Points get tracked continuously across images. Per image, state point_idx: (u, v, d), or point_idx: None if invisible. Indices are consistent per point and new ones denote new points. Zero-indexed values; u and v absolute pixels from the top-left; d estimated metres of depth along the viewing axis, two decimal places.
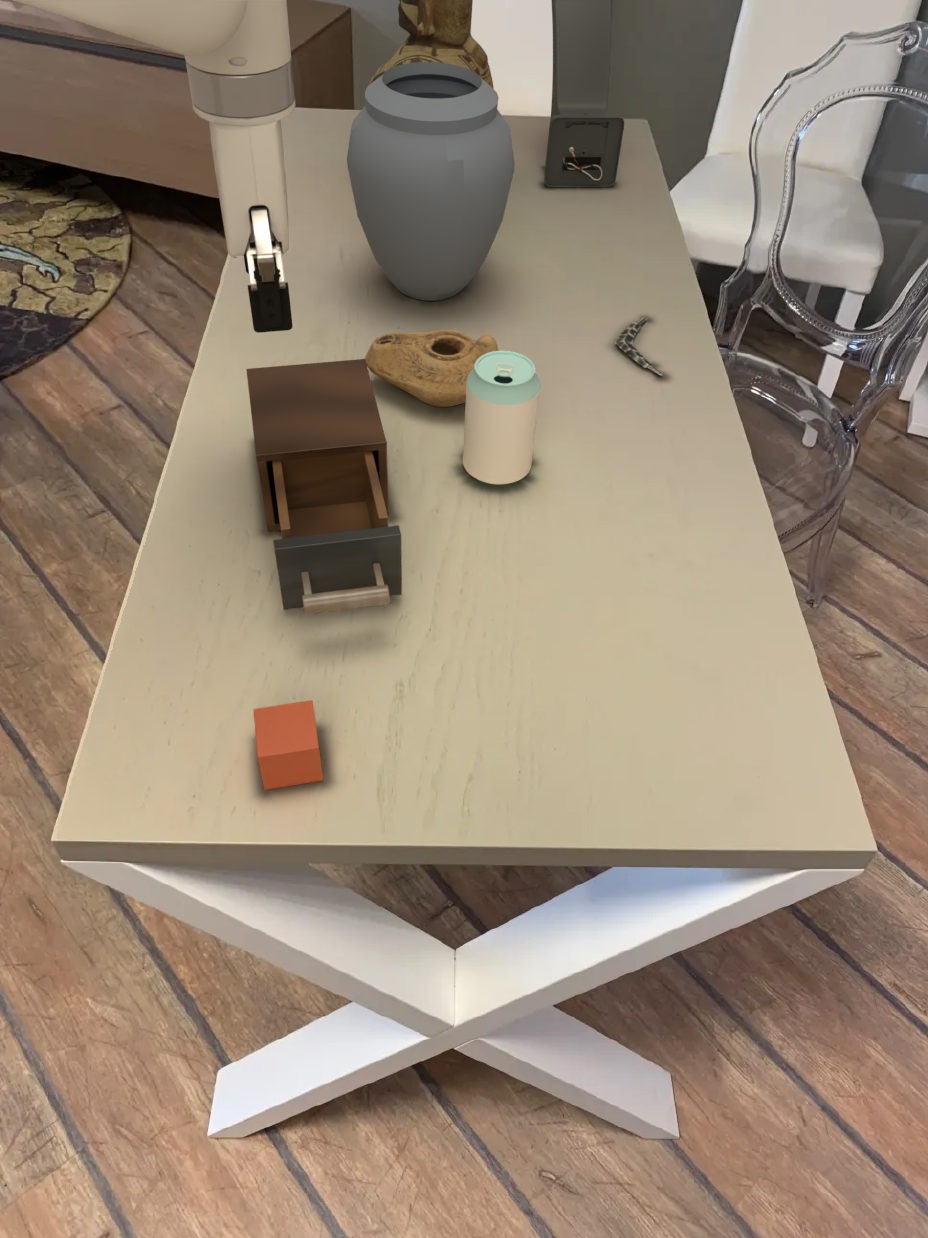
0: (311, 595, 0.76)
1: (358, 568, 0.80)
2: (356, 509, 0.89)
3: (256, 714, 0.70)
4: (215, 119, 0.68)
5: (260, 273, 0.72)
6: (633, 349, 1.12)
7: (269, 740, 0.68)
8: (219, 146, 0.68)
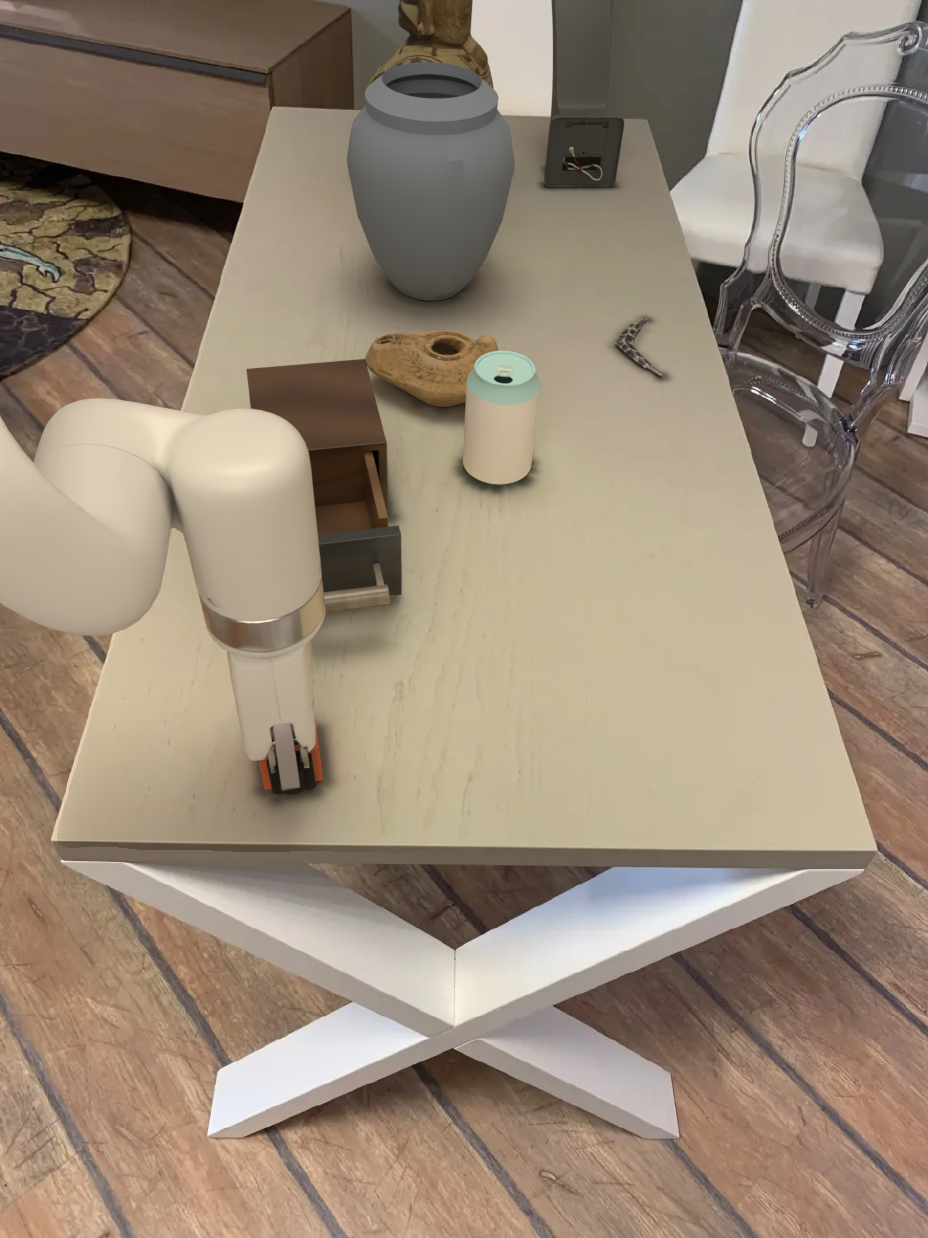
0: None
1: (358, 568, 0.80)
2: (356, 509, 0.89)
3: None
4: (232, 650, 0.57)
5: None
6: (633, 349, 1.12)
7: None
8: (236, 680, 0.58)
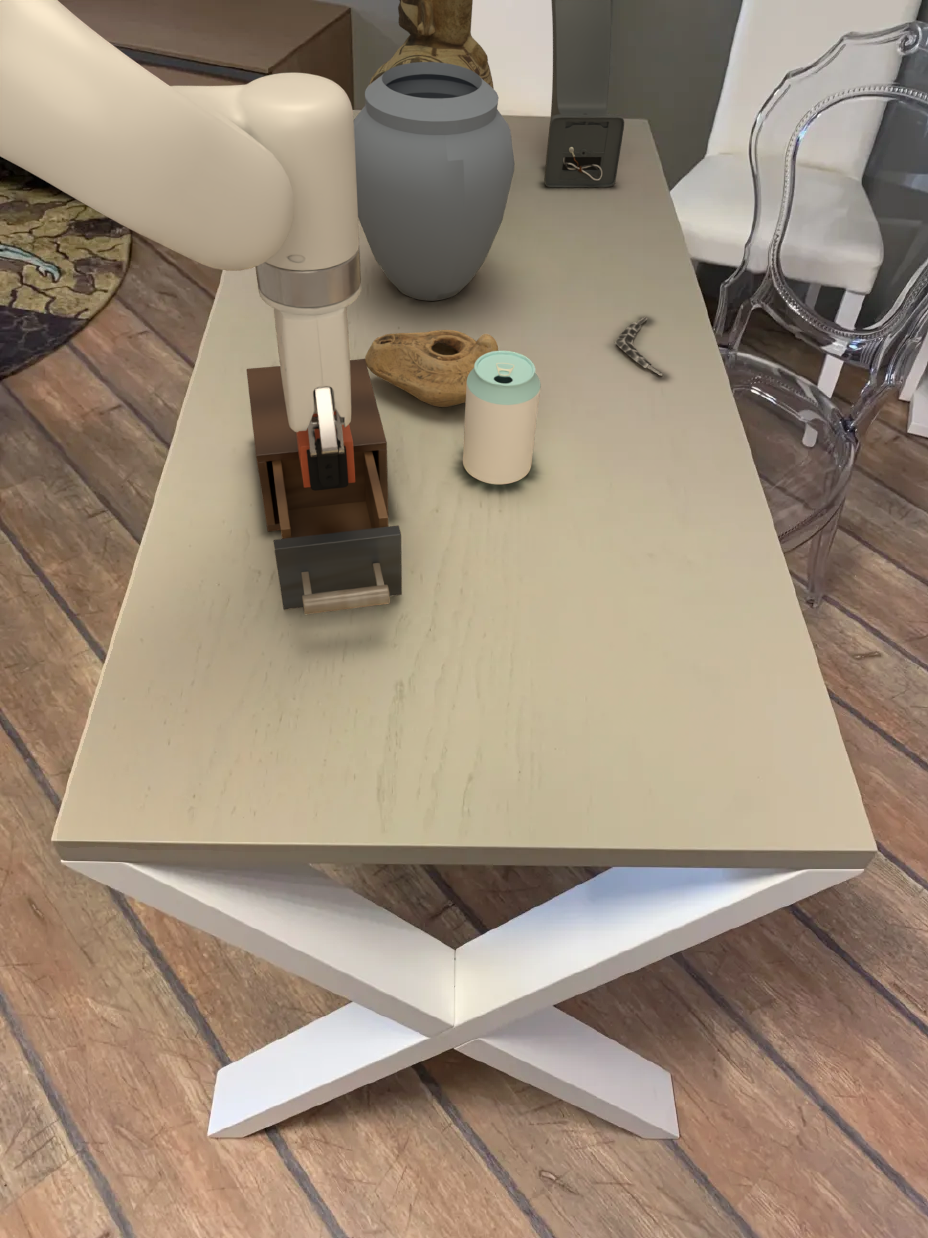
0: (311, 595, 0.76)
1: (358, 568, 0.80)
2: (356, 509, 0.89)
3: None
4: (283, 308, 0.67)
5: None
6: (633, 349, 1.12)
7: None
8: (286, 335, 0.67)
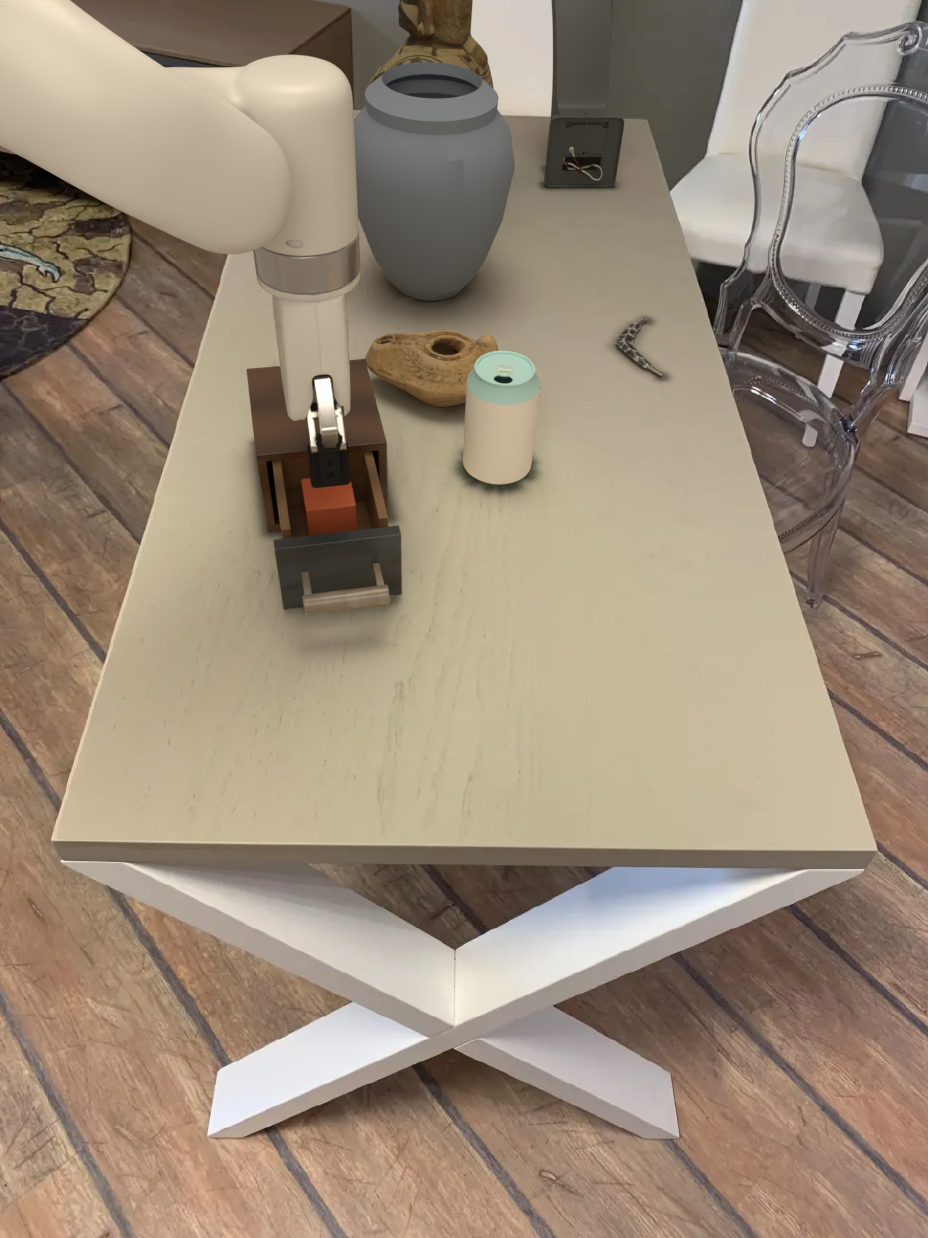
0: (311, 595, 0.76)
1: (358, 568, 0.80)
2: (356, 509, 0.89)
3: (303, 482, 0.85)
4: (281, 294, 0.66)
5: (323, 443, 0.70)
6: (633, 349, 1.12)
7: (315, 499, 0.83)
8: (285, 322, 0.66)
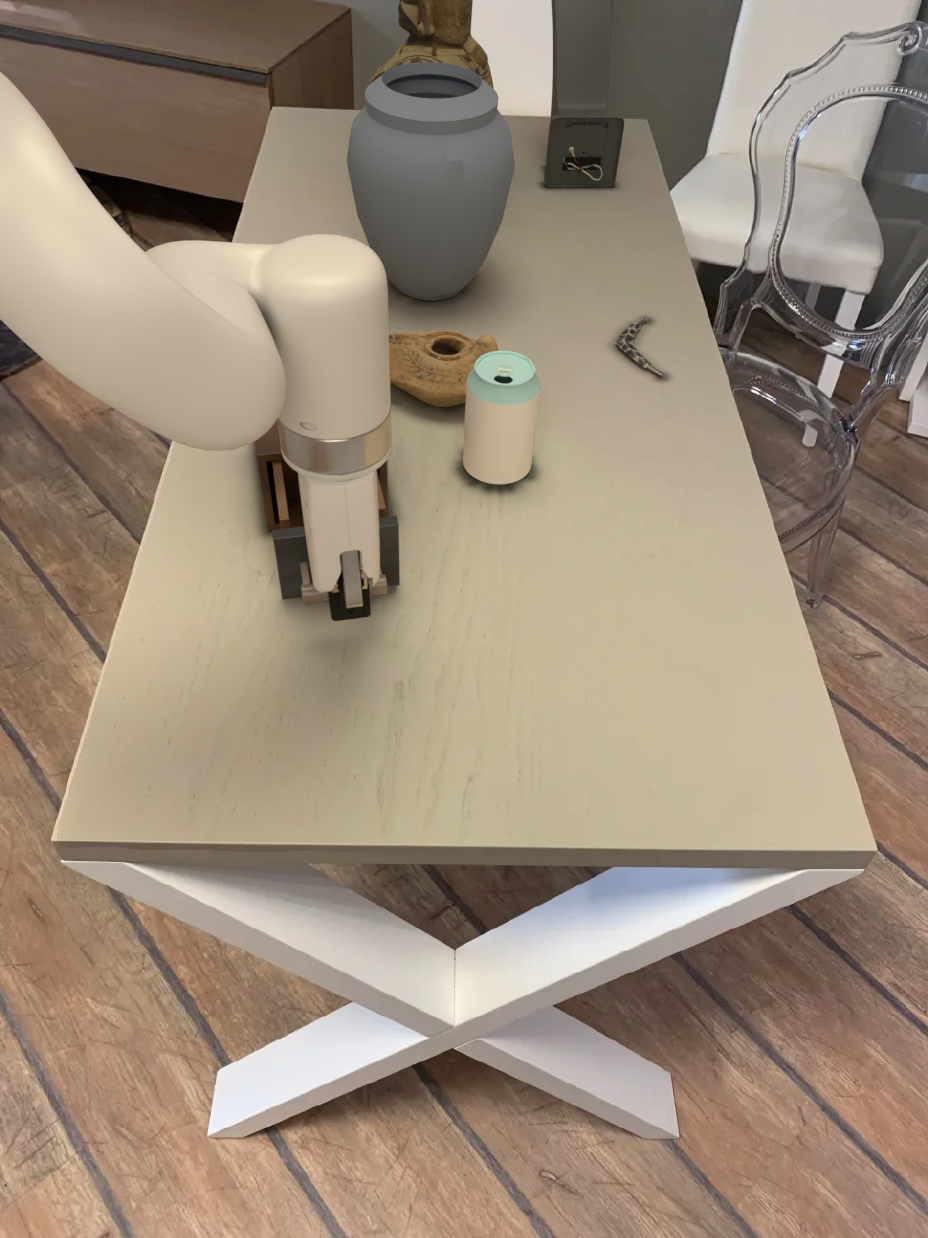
0: (309, 585, 0.77)
1: None
2: None
3: None
4: (308, 474, 0.62)
5: None
6: (633, 349, 1.12)
7: None
8: (312, 502, 0.62)
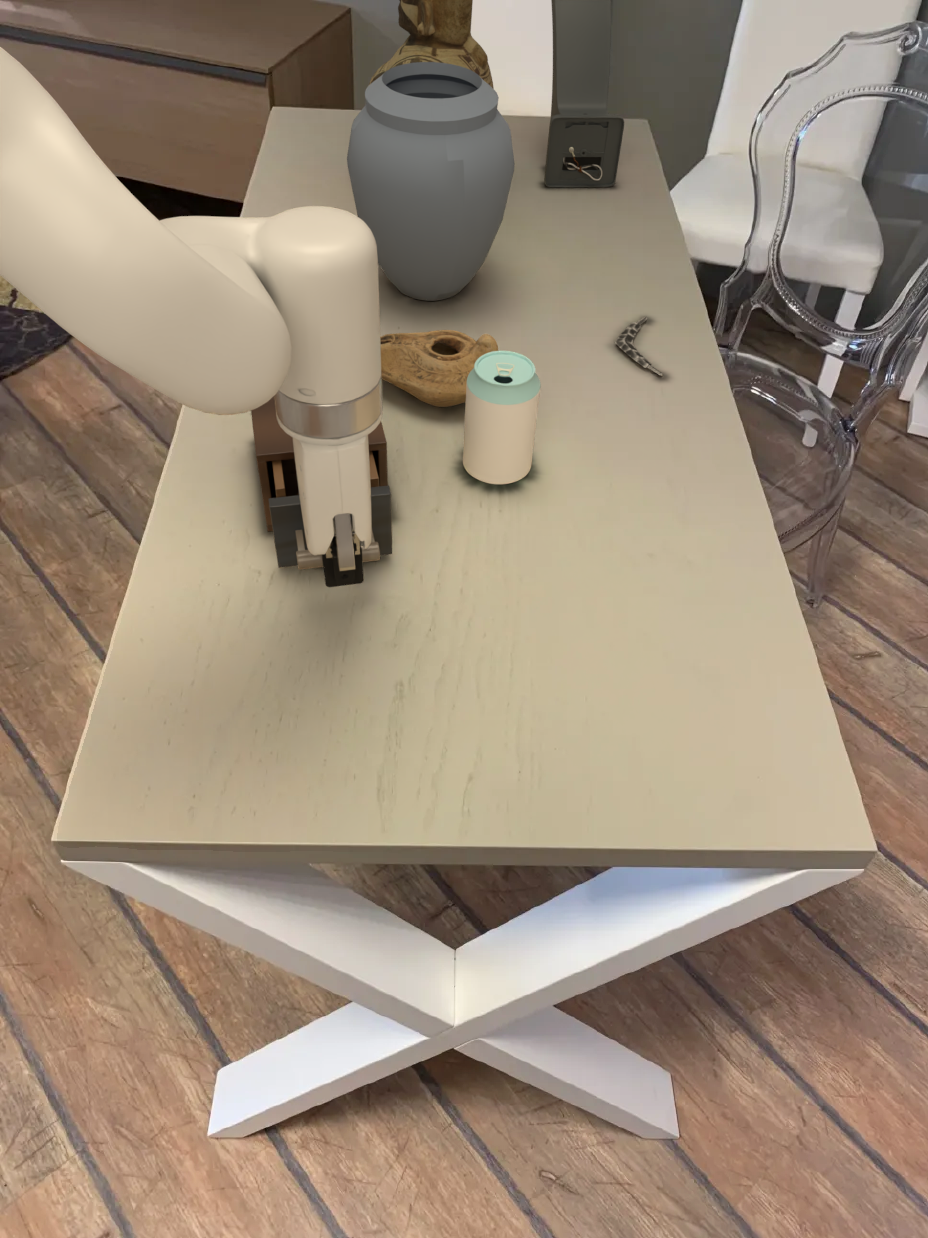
0: (304, 551, 0.80)
1: None
2: None
3: None
4: (302, 438, 0.65)
5: None
6: (633, 349, 1.12)
7: None
8: (305, 465, 0.65)
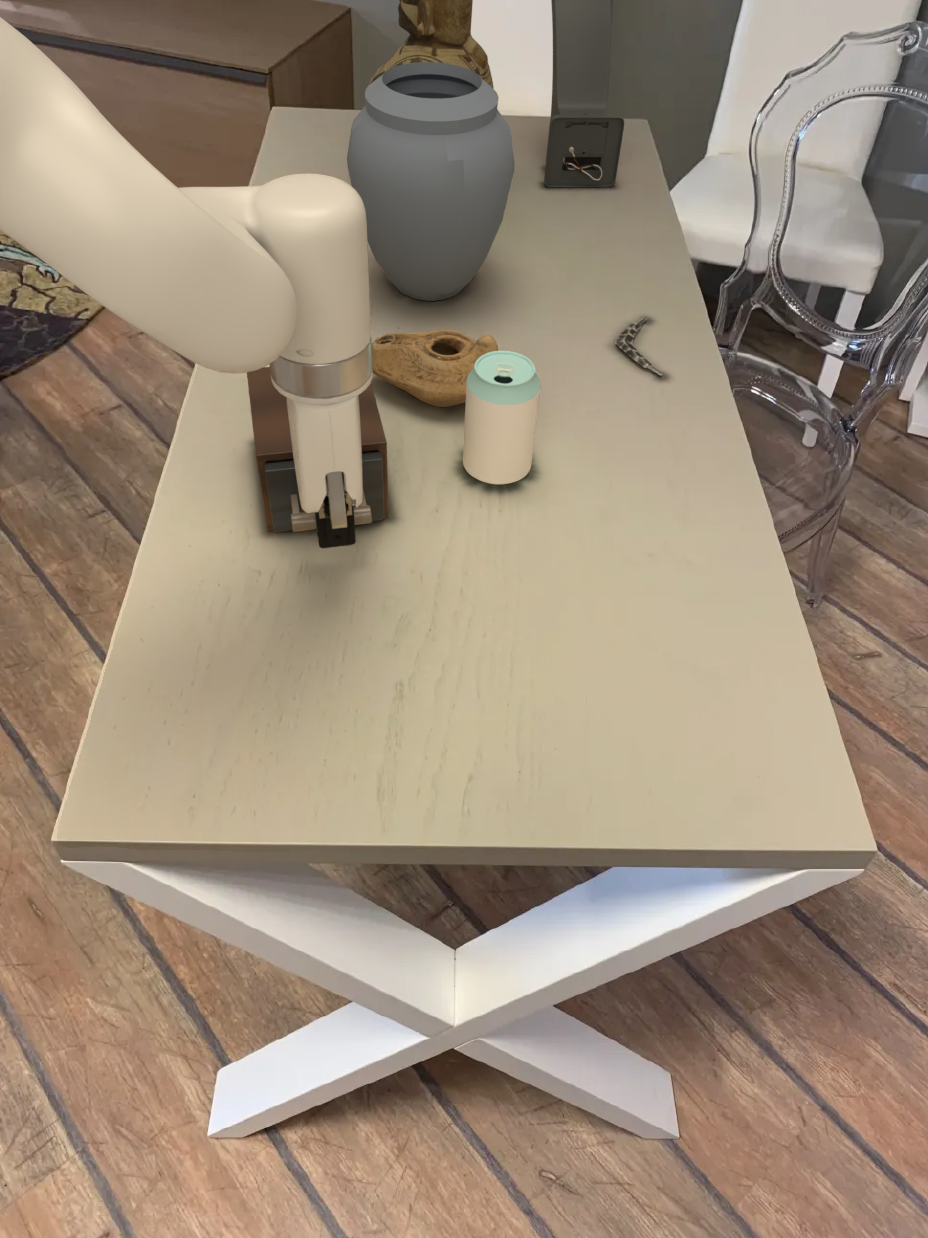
0: (299, 513, 0.83)
1: None
2: None
3: None
4: (295, 398, 0.68)
5: None
6: (633, 349, 1.12)
7: None
8: (299, 424, 0.68)
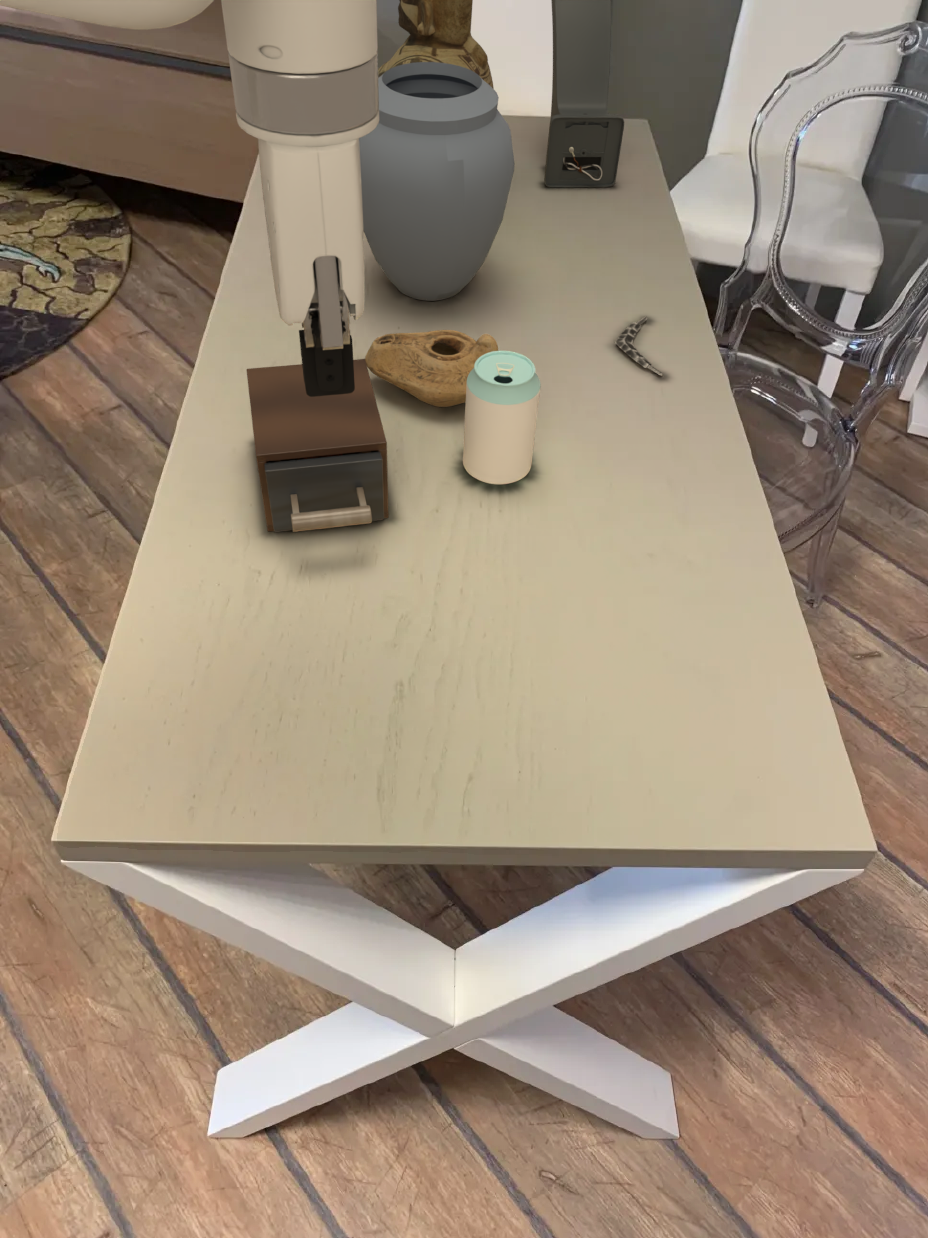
0: (299, 513, 0.83)
1: (343, 492, 0.86)
2: None
3: None
4: (270, 137, 0.48)
5: None
6: (633, 349, 1.12)
7: None
8: (275, 175, 0.48)
